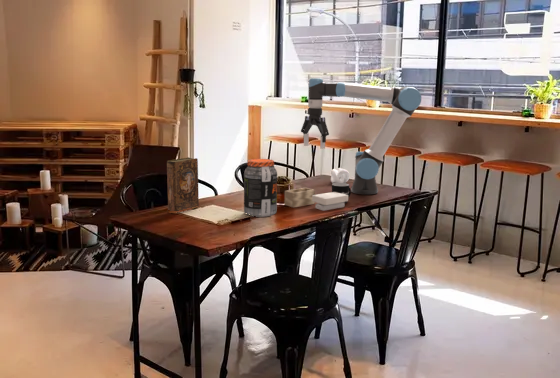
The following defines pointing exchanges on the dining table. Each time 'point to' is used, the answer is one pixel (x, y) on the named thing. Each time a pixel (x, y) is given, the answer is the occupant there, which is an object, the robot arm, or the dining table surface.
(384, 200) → the dining table surface
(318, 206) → the block
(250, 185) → the supplement tub
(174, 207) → the book
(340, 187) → the mug
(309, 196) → the box
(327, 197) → the lid
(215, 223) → the dining table surface
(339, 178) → the white spiral shell
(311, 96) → the robot arm
